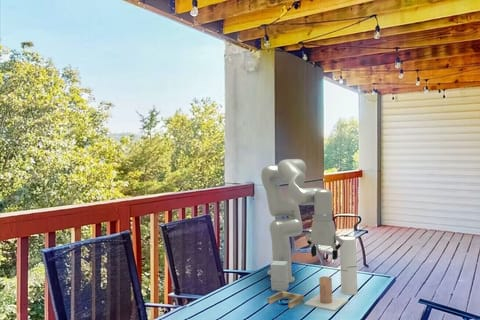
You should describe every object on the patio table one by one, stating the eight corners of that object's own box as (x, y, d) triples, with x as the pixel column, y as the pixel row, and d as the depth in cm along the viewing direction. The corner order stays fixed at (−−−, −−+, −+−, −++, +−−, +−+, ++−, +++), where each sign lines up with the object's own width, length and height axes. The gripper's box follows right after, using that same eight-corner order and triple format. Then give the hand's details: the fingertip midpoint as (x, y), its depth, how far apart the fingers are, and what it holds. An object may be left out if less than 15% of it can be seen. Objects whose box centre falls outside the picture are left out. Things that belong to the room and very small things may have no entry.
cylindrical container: (358, 295, 178) (356, 239, 178) (341, 294, 179) (339, 239, 179) (356, 290, 185) (354, 236, 185) (341, 289, 186) (339, 236, 186)
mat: (304, 304, 168) (304, 303, 168) (318, 295, 179) (318, 294, 179) (334, 311, 160) (334, 309, 160) (348, 301, 171) (348, 299, 171)
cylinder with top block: (316, 302, 168) (315, 279, 168) (323, 298, 173) (322, 275, 173) (327, 305, 165) (327, 281, 165) (334, 300, 170) (333, 277, 170)
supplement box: (289, 286, 193) (288, 261, 193) (286, 291, 186) (285, 264, 186) (274, 285, 195) (273, 260, 196) (270, 290, 188) (269, 264, 189)
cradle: (268, 303, 171) (267, 297, 171) (281, 296, 180) (281, 290, 180) (291, 308, 164) (290, 302, 164) (303, 301, 173) (303, 295, 173)
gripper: (301, 217, 172) (302, 256, 172) (338, 221, 162) (339, 262, 162) (309, 215, 178) (310, 253, 178) (346, 218, 168) (346, 258, 168)
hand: (324, 257), depth 170 cm, fingers open, 9 cm apart
